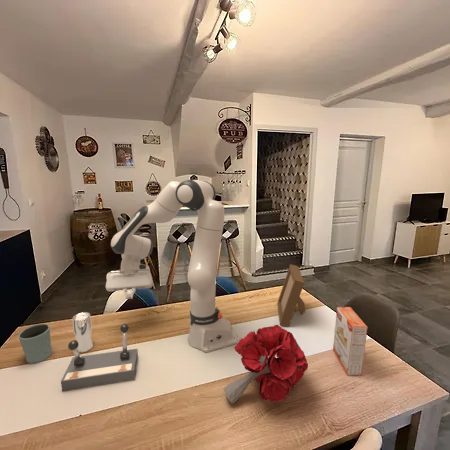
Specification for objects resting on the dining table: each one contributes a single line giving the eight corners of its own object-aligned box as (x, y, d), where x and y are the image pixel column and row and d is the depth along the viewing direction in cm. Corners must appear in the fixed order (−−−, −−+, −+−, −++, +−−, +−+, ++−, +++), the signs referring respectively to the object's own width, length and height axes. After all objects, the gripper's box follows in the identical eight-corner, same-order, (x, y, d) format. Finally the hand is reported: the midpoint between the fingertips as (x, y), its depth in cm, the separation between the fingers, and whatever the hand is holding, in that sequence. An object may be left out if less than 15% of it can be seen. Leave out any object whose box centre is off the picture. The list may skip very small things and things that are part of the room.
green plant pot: (58, 352, 108) (55, 327, 106) (32, 368, 99) (28, 341, 97) (43, 345, 113) (39, 321, 110) (17, 360, 104) (12, 334, 101)
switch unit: (138, 357, 106) (137, 347, 105) (134, 379, 95) (133, 369, 94) (73, 366, 101) (72, 356, 100) (62, 391, 89) (60, 380, 88)
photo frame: (279, 326, 127) (283, 279, 122) (277, 304, 148) (279, 263, 143) (310, 329, 125) (315, 281, 120) (303, 306, 146) (307, 265, 141)
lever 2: (130, 356, 101) (129, 322, 103) (128, 359, 98) (128, 324, 100) (121, 357, 100) (120, 323, 102) (119, 360, 97) (119, 325, 99)
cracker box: (331, 350, 111) (336, 306, 106) (345, 350, 110) (351, 306, 106) (345, 376, 97) (351, 326, 93) (362, 376, 97) (368, 326, 92)
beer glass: (86, 354, 108) (82, 321, 104) (72, 351, 109) (67, 319, 106) (97, 343, 114) (94, 312, 111) (84, 341, 116) (80, 311, 113)
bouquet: (258, 447, 78) (330, 381, 84) (219, 397, 71) (300, 329, 78) (232, 394, 98) (292, 344, 104) (201, 351, 92) (266, 300, 98)
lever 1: (85, 358, 98) (78, 337, 91) (83, 366, 95) (76, 346, 89) (76, 359, 97) (68, 339, 91) (74, 368, 95) (65, 347, 88)
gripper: (105, 268, 117) (102, 298, 110) (152, 265, 121) (152, 294, 114) (108, 274, 122) (105, 303, 115) (153, 270, 126) (153, 298, 119)
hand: (129, 298), depth 114 cm, fingers closed
